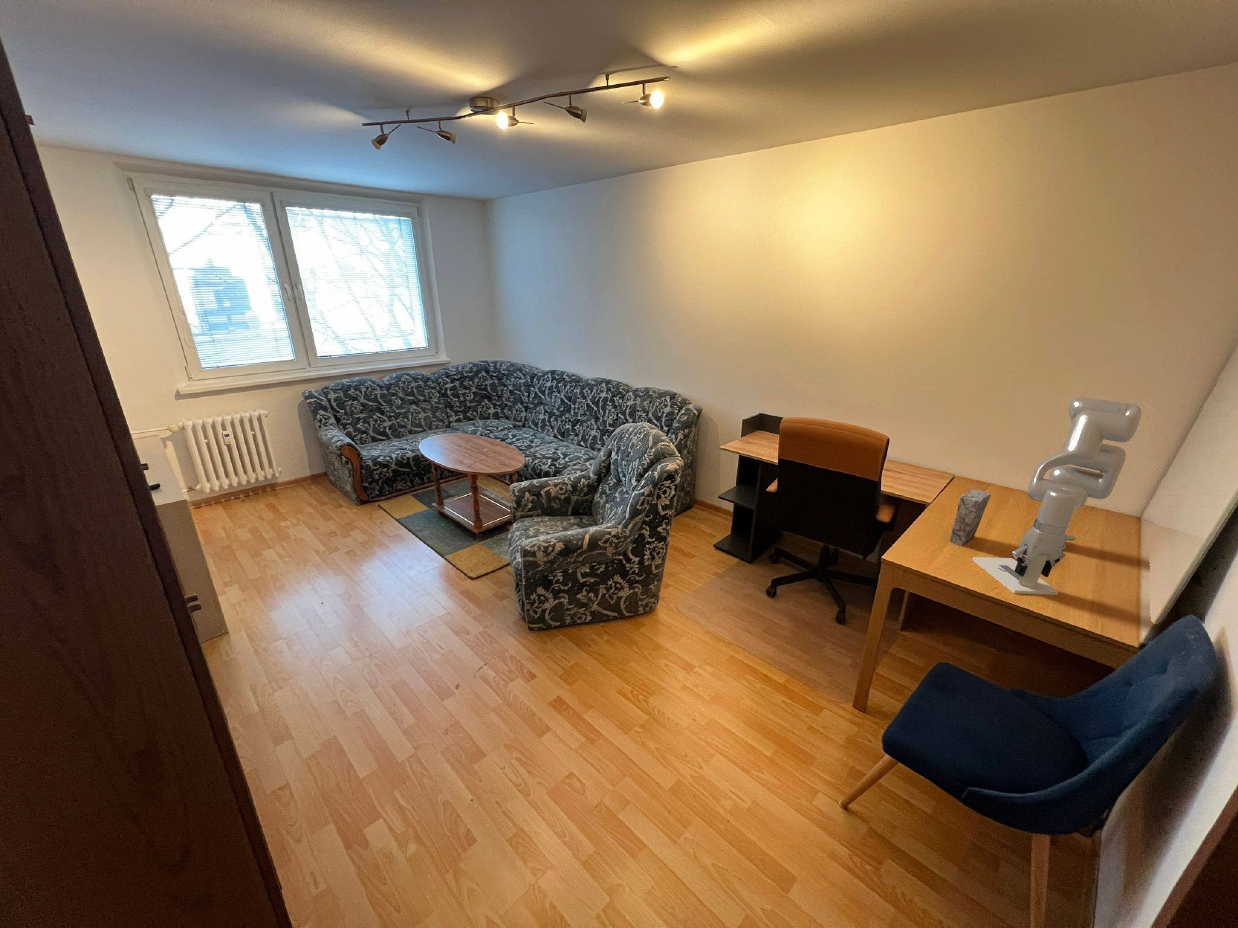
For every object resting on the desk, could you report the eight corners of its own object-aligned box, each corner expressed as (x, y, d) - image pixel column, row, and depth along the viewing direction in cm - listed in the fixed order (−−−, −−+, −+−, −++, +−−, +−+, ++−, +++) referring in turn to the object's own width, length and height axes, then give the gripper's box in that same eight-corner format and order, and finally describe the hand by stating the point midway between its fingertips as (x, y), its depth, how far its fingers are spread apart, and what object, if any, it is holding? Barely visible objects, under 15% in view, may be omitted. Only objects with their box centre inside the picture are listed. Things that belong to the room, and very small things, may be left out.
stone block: (967, 548, 180) (983, 501, 173) (946, 541, 185) (961, 495, 178) (977, 537, 188) (992, 491, 181) (956, 531, 193) (970, 486, 186)
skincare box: (1021, 576, 161) (1033, 544, 156) (1037, 581, 158) (1050, 550, 153) (1017, 583, 156) (1029, 551, 152) (1034, 589, 153) (1047, 557, 149)
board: (1011, 561, 172) (1012, 558, 172) (1057, 594, 154) (1058, 591, 153) (972, 559, 172) (973, 556, 172) (1013, 593, 154) (1015, 590, 153)
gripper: (1067, 522, 153) (1048, 568, 159) (1012, 520, 153) (996, 567, 160) (1088, 533, 146) (1067, 581, 152) (1031, 531, 146) (1012, 580, 153)
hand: (1030, 574), depth 156 cm, fingers closed on skincare box, 7 cm apart
